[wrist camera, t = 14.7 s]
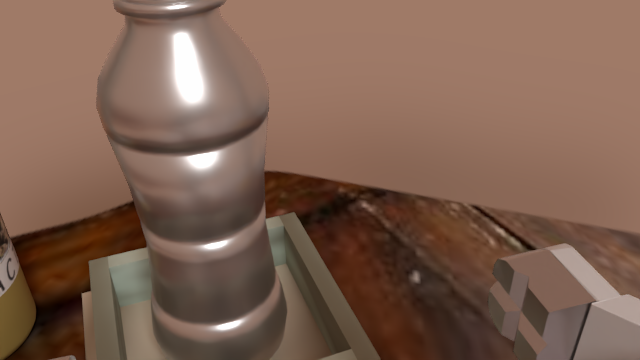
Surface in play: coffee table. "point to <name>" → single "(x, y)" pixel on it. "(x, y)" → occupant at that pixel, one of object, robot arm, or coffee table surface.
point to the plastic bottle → (196, 176)
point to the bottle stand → (298, 285)
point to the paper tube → (13, 299)
